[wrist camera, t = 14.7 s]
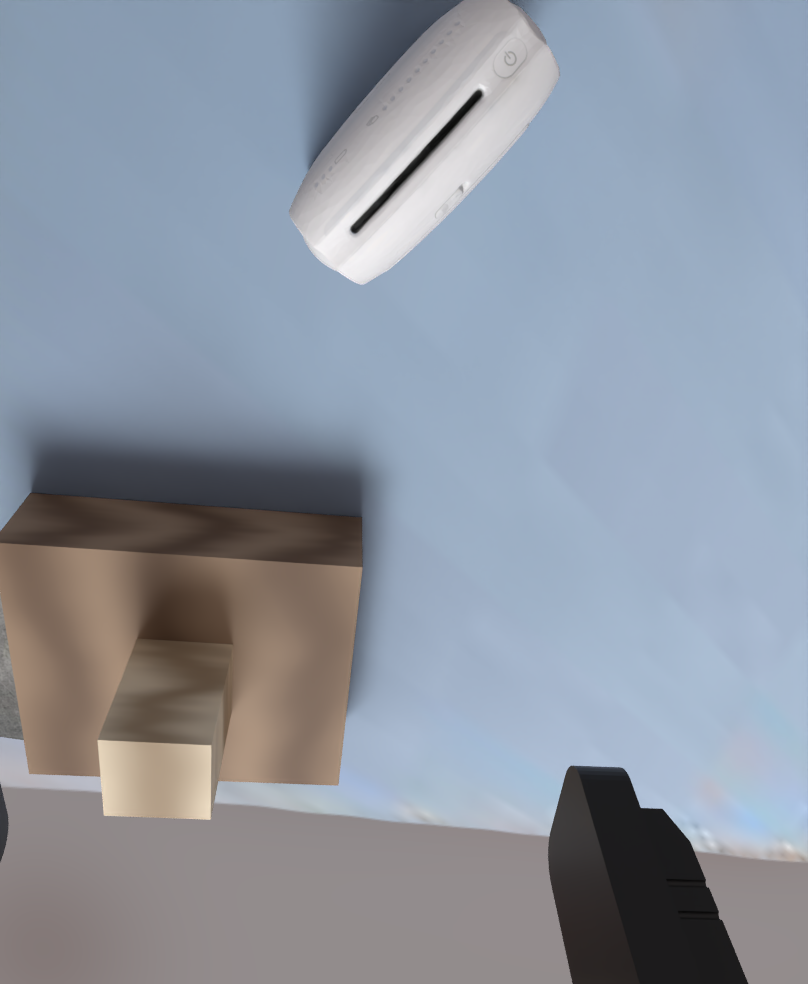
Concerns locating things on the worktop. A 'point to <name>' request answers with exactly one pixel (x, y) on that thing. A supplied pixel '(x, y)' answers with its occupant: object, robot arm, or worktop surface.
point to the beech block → (167, 730)
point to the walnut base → (183, 623)
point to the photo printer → (424, 137)
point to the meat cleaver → (7, 689)
